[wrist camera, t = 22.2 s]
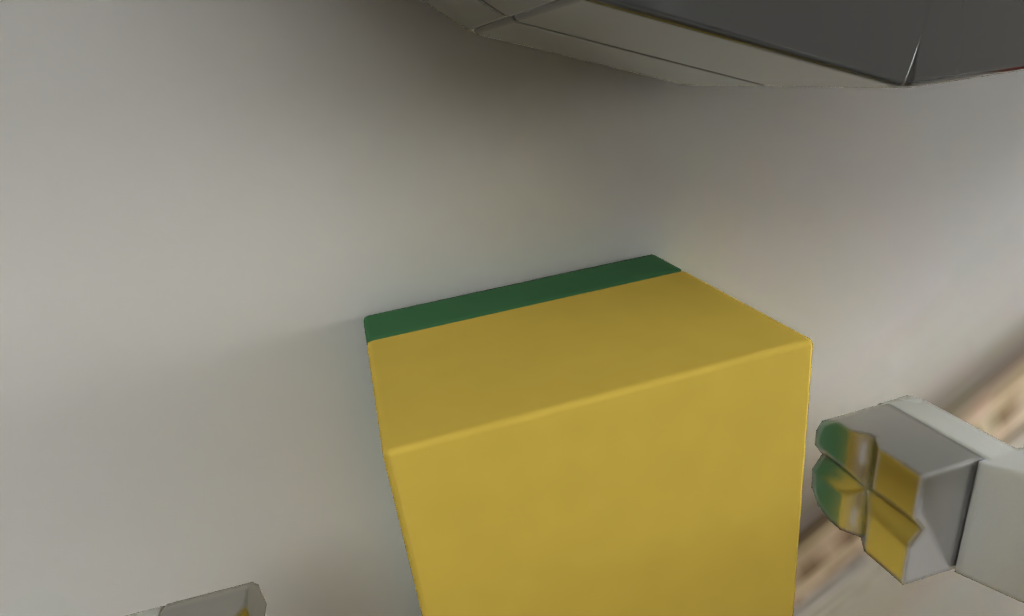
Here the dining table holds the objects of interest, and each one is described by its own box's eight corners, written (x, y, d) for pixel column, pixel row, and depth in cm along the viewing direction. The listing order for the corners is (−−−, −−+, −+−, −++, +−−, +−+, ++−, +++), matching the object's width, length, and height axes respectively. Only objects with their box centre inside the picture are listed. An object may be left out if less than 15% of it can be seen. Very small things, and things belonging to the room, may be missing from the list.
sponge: (362, 315, 9) (382, 453, 5) (653, 252, 9) (816, 338, 6) (444, 662, 11) (490, 891, 8) (665, 587, 12) (783, 765, 9)
